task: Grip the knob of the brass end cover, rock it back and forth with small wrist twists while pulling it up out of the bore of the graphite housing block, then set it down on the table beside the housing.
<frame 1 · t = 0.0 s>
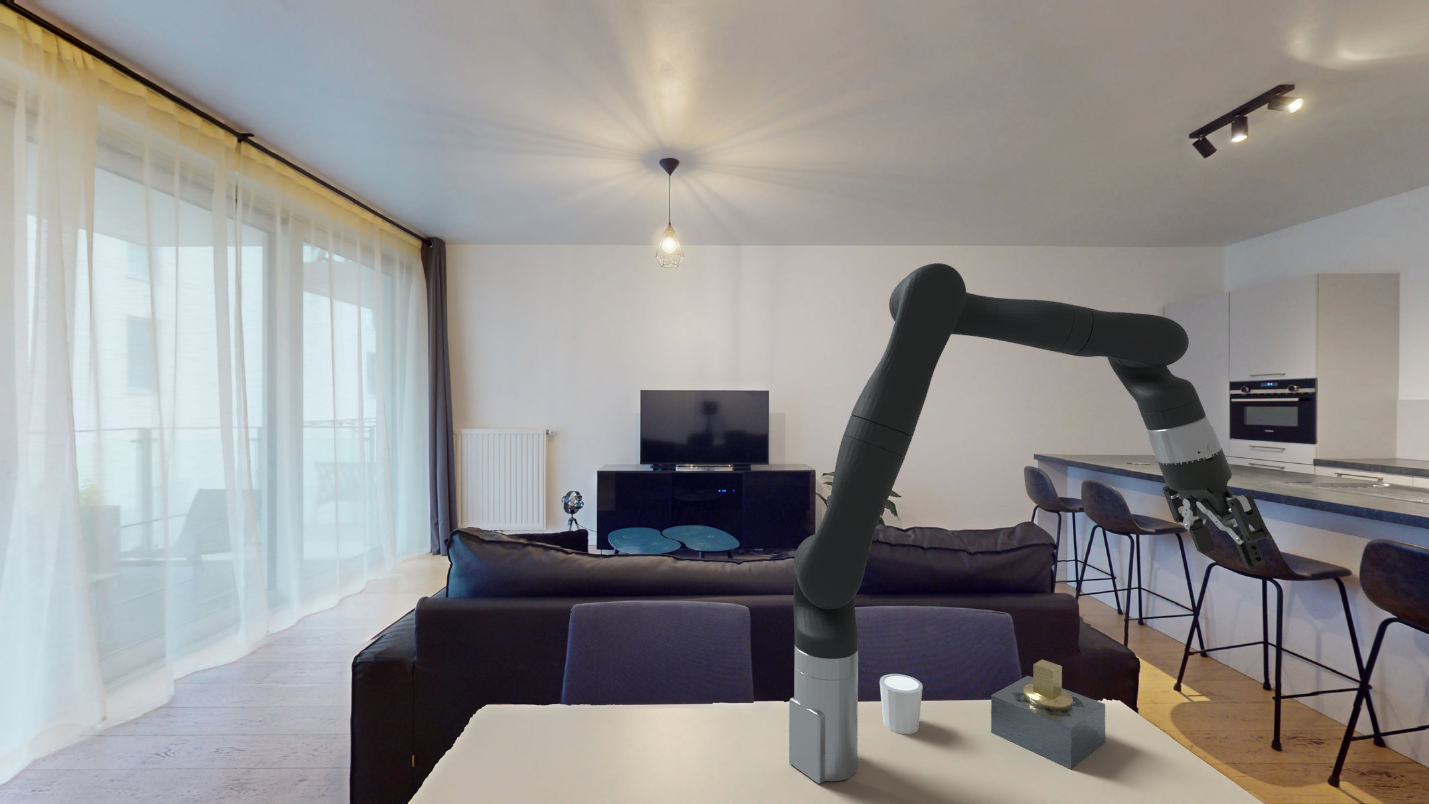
hand: (1230, 558, 83), 31 cm above the table, tool tilted 20°, fingers open, 8 cm apart
end cover: (1047, 723, 94), point 2 cm above the table, touching housing
shot glass: (900, 725, 98), on the table
housing: (1047, 737, 94), on the table
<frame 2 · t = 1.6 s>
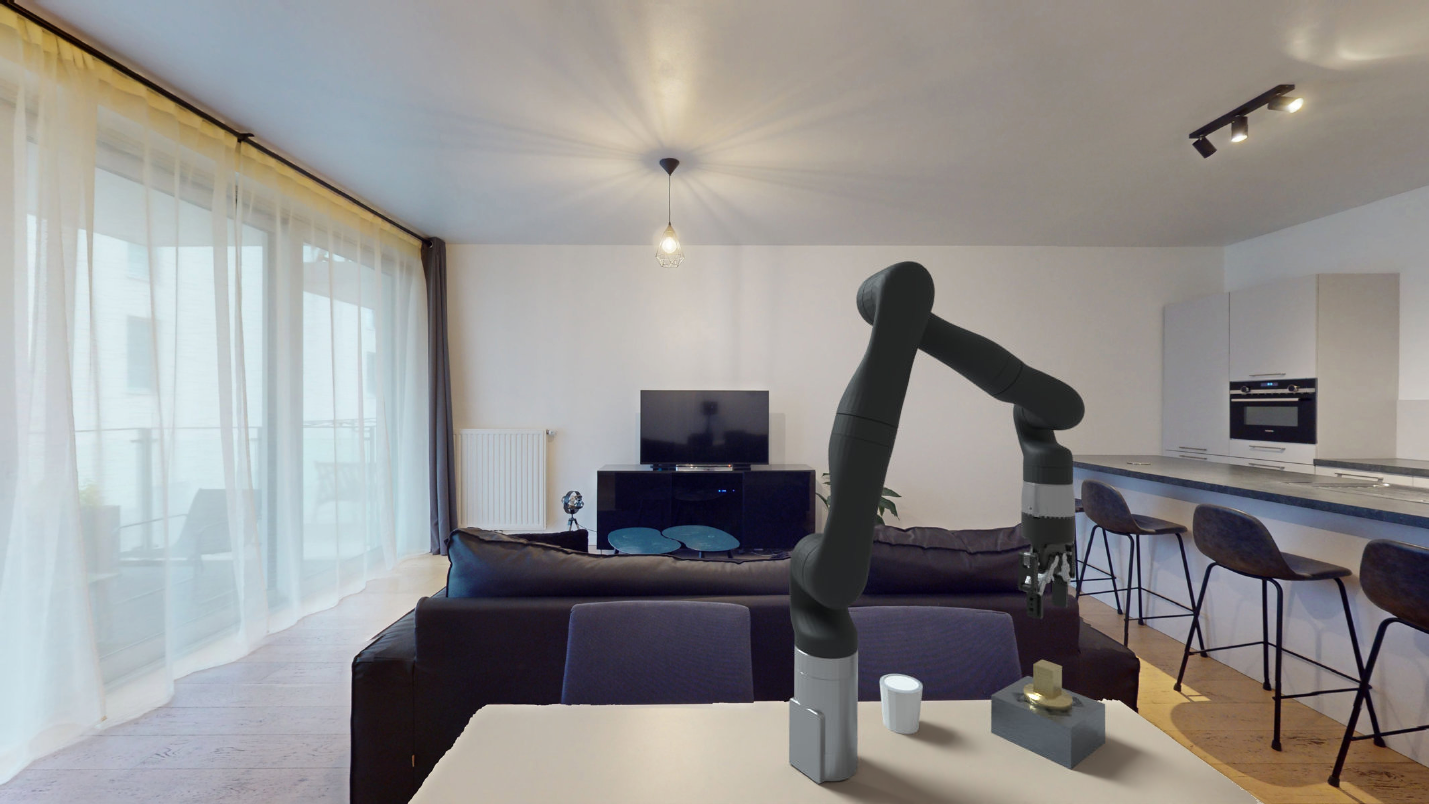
hand: (1047, 611, 94), 20 cm above the table, tool pointing down, fingers open, 8 cm apart
nothing on the table moved.
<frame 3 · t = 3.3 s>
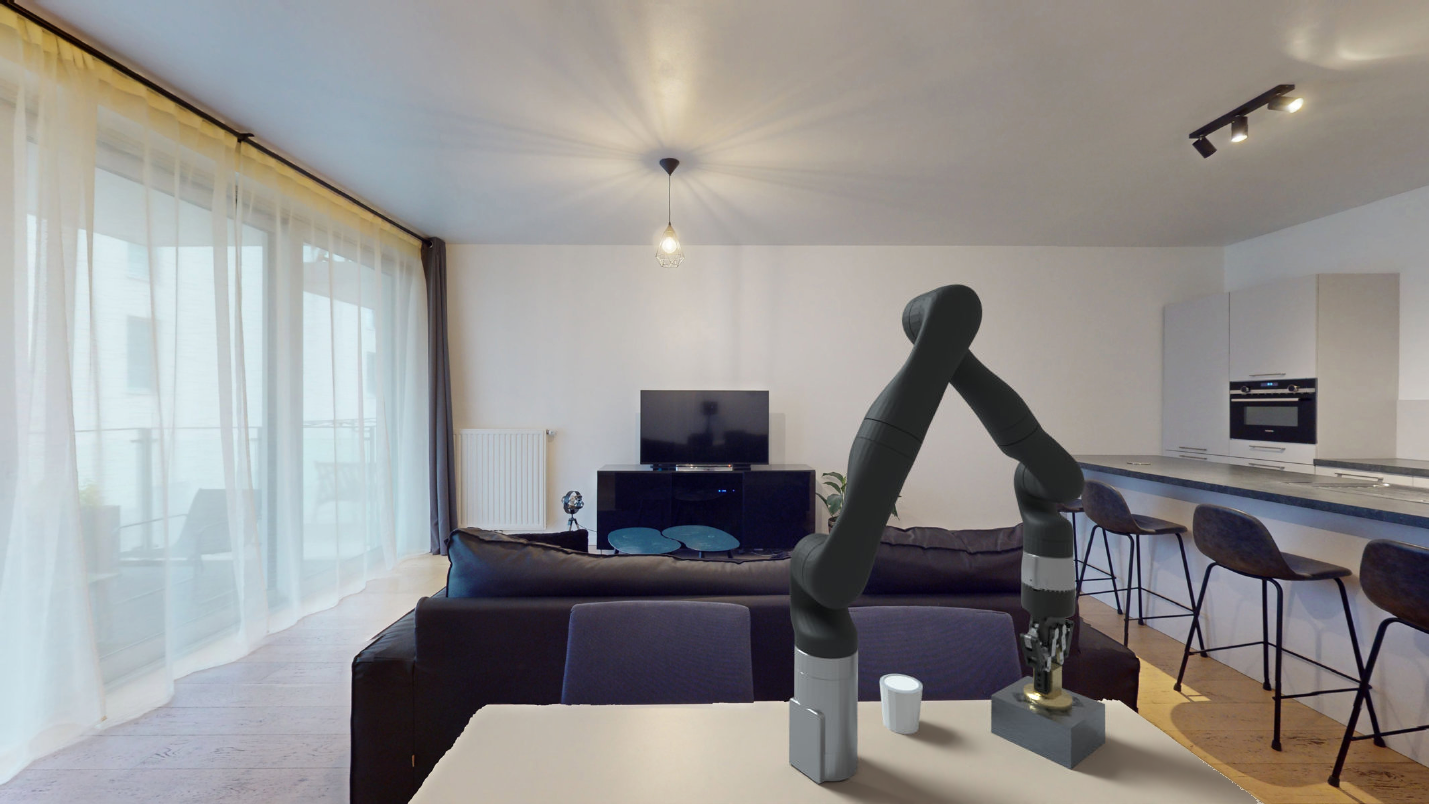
hand: (1047, 688, 94), 8 cm above the table, tool pointing down, fingers closed on end cover, 3 cm apart
end cover: (1047, 723, 94), point 2 cm above the table, touching gripper, housing
everything else where it was.
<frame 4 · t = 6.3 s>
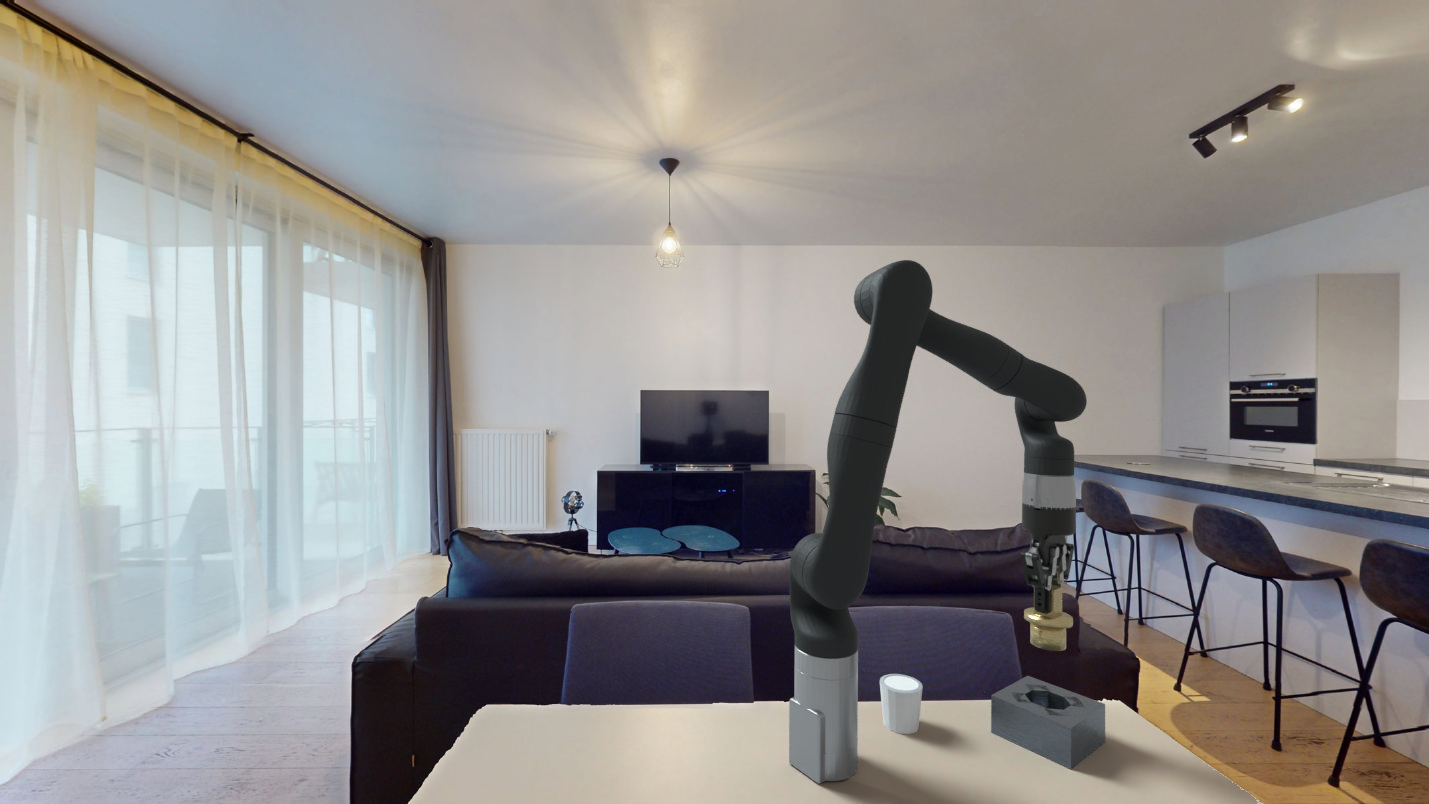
hand: (1047, 609, 94), 20 cm above the table, tool pointing down, fingers closed on end cover, 3 cm apart
end cover: (1048, 644, 94), point 15 cm above the table, touching gripper
everything else where it was.
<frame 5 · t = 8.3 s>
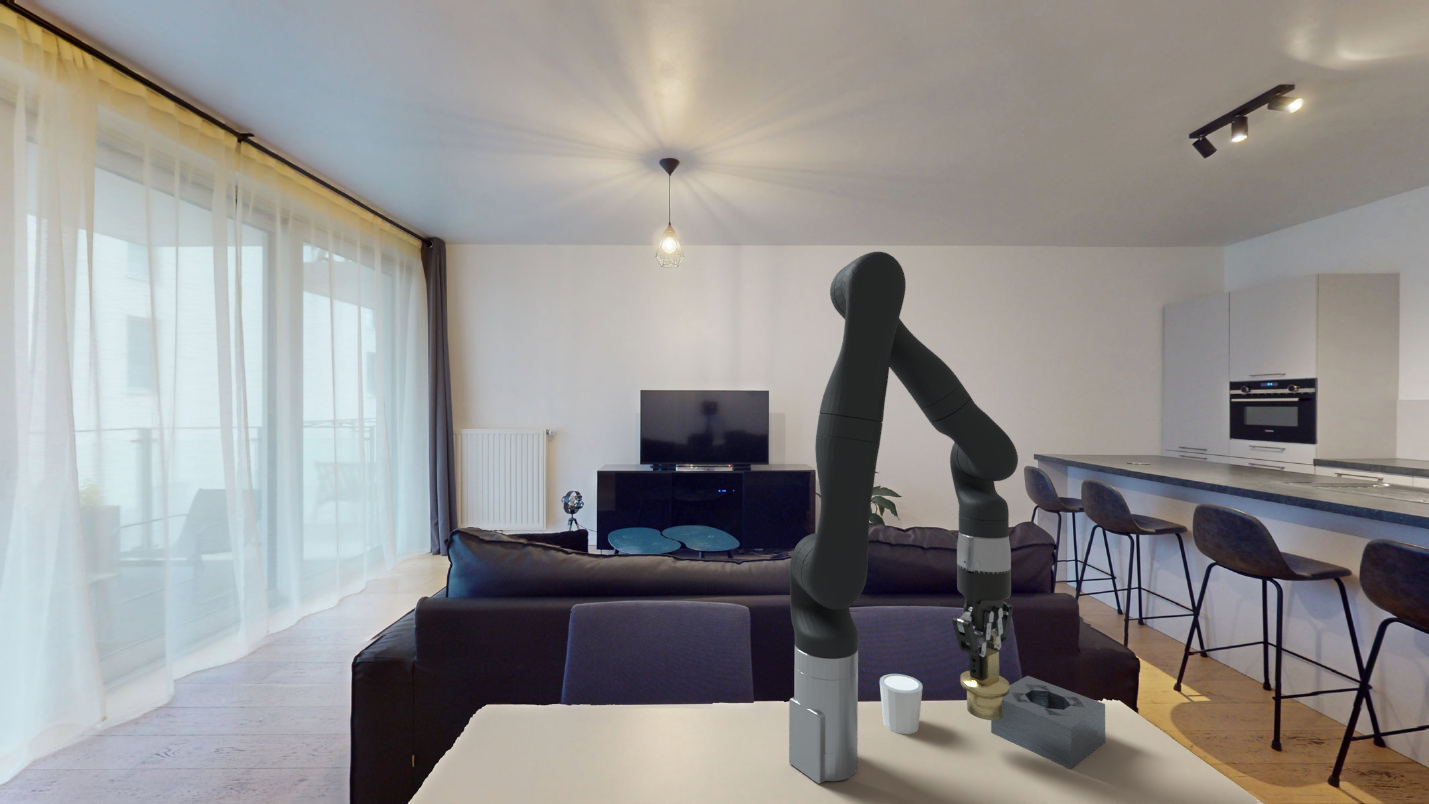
hand: (984, 674, 90), 12 cm above the table, tool pointing down, fingers closed on end cover, 3 cm apart
end cover: (984, 711, 90), point 6 cm above the table, touching gripper
everything else where it was.
when the fingers open (7 cm above the table, at t = 9.6 s): end cover drops 1 cm, on the table.
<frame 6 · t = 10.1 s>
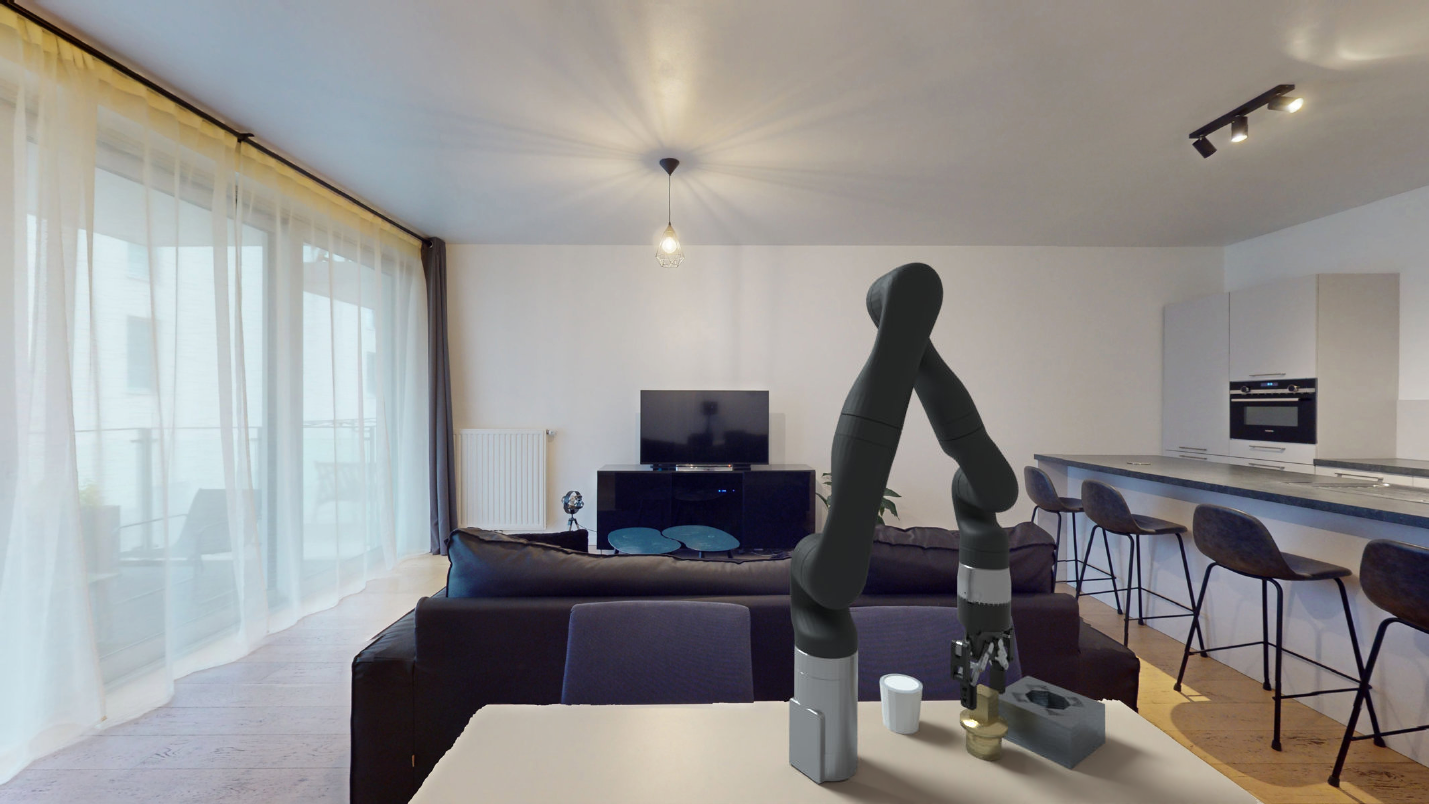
hand: (983, 699, 90), 8 cm above the table, tool pointing down, fingers open, 8 cm apart
end cover: (983, 751, 90), on the table
everything else where it was.
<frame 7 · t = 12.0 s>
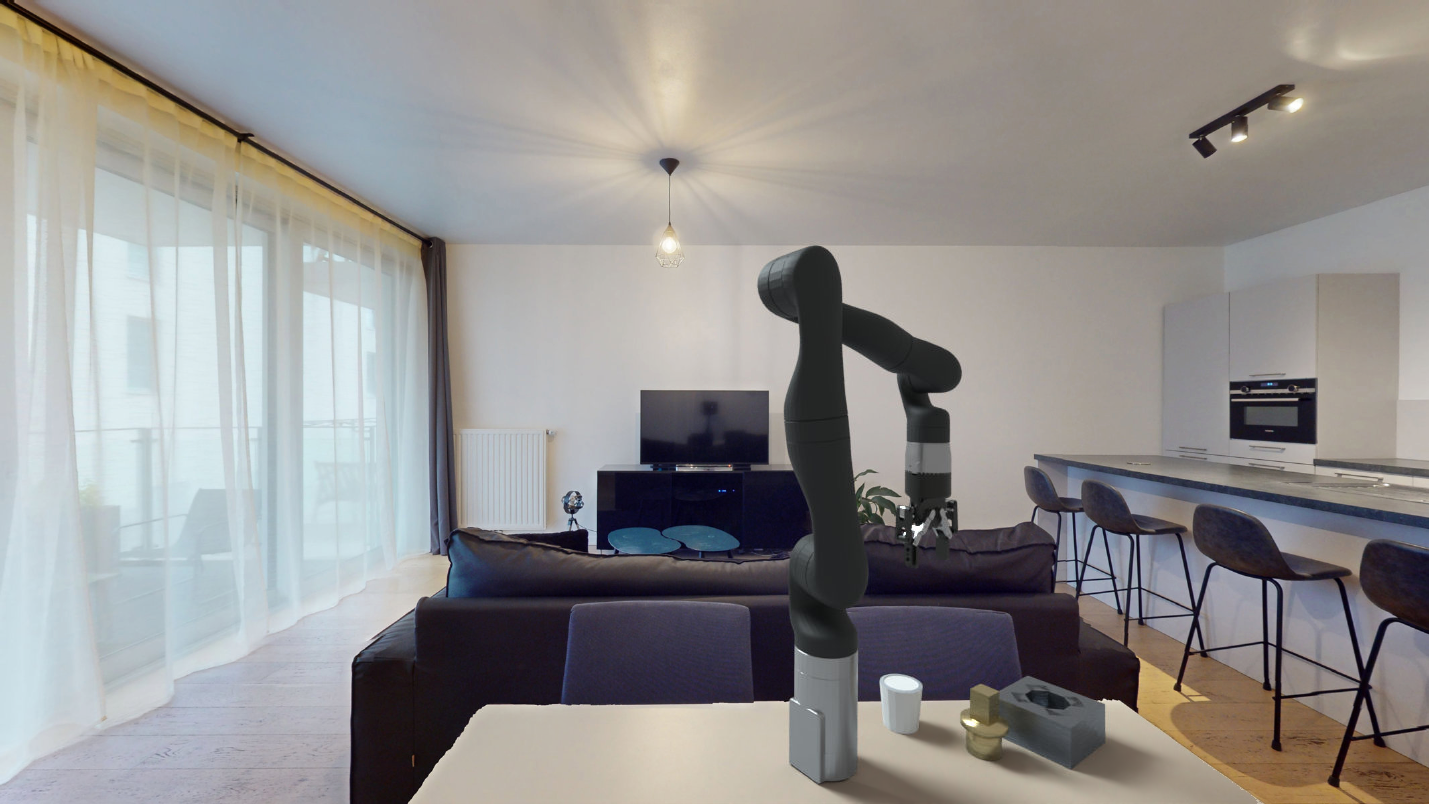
hand: (927, 563, 101), 26 cm above the table, tool pointing down, fingers open, 8 cm apart
nothing on the table moved.
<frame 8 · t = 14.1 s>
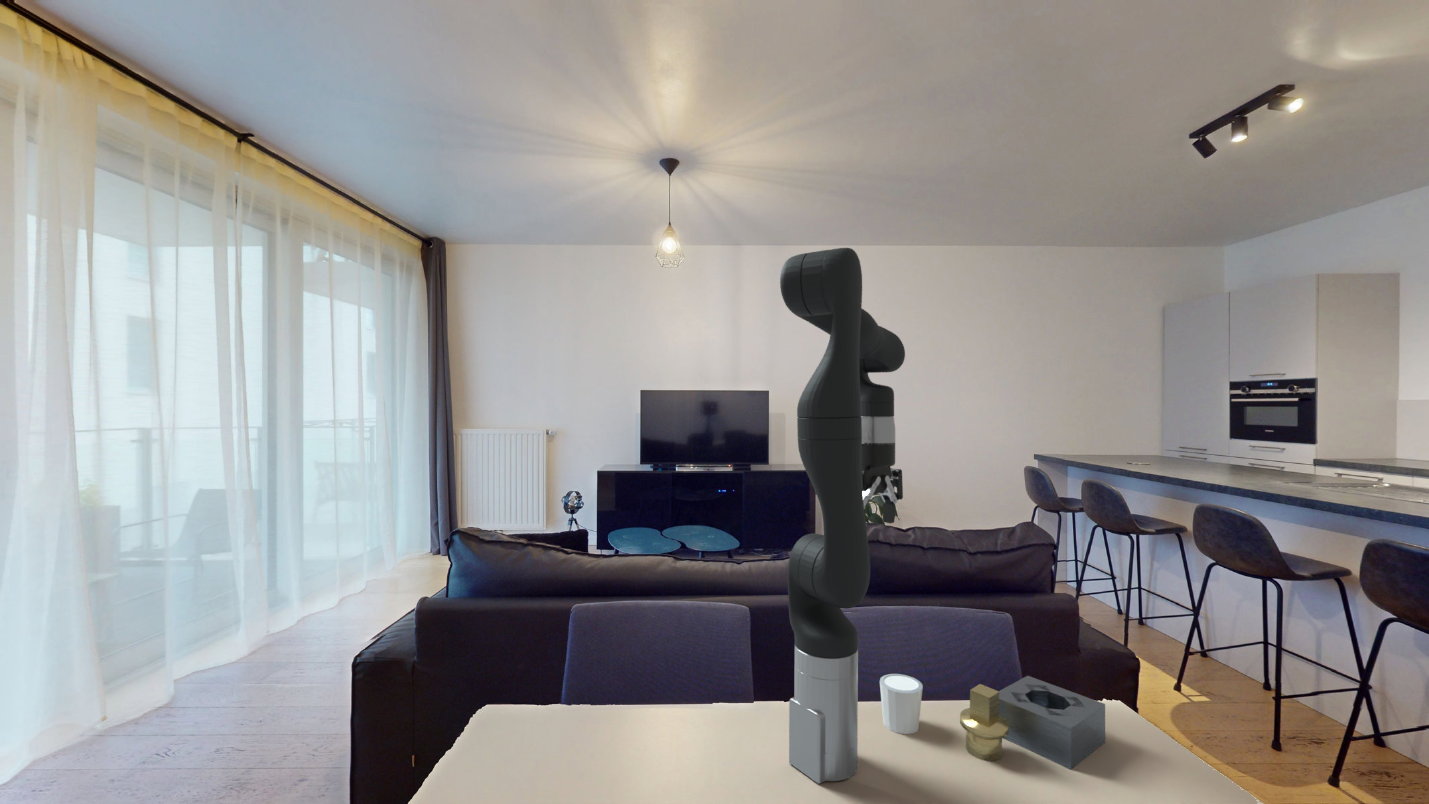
hand: (874, 525, 112), 30 cm above the table, tool pointing down, fingers open, 8 cm apart
nothing on the table moved.
at the end: end cover inside the target area (0.1 cm from its centre), on the table; end cover tilted 1°; end cover touching table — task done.
